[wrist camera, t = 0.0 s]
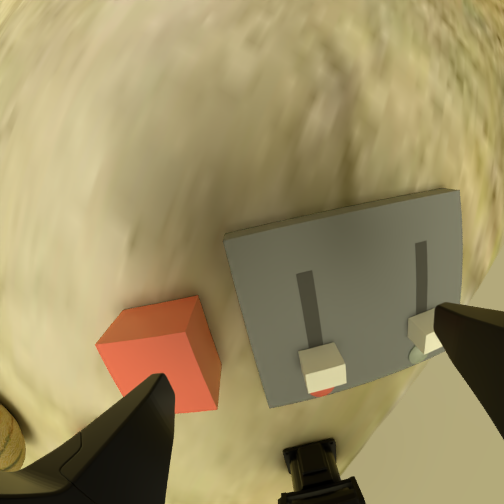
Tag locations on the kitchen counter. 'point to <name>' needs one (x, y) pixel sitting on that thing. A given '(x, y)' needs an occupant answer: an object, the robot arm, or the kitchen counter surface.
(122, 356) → the cap
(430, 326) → the block
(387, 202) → the breaker panel
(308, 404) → the kitchen counter surface
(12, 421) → the cantaloupe
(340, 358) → the block
